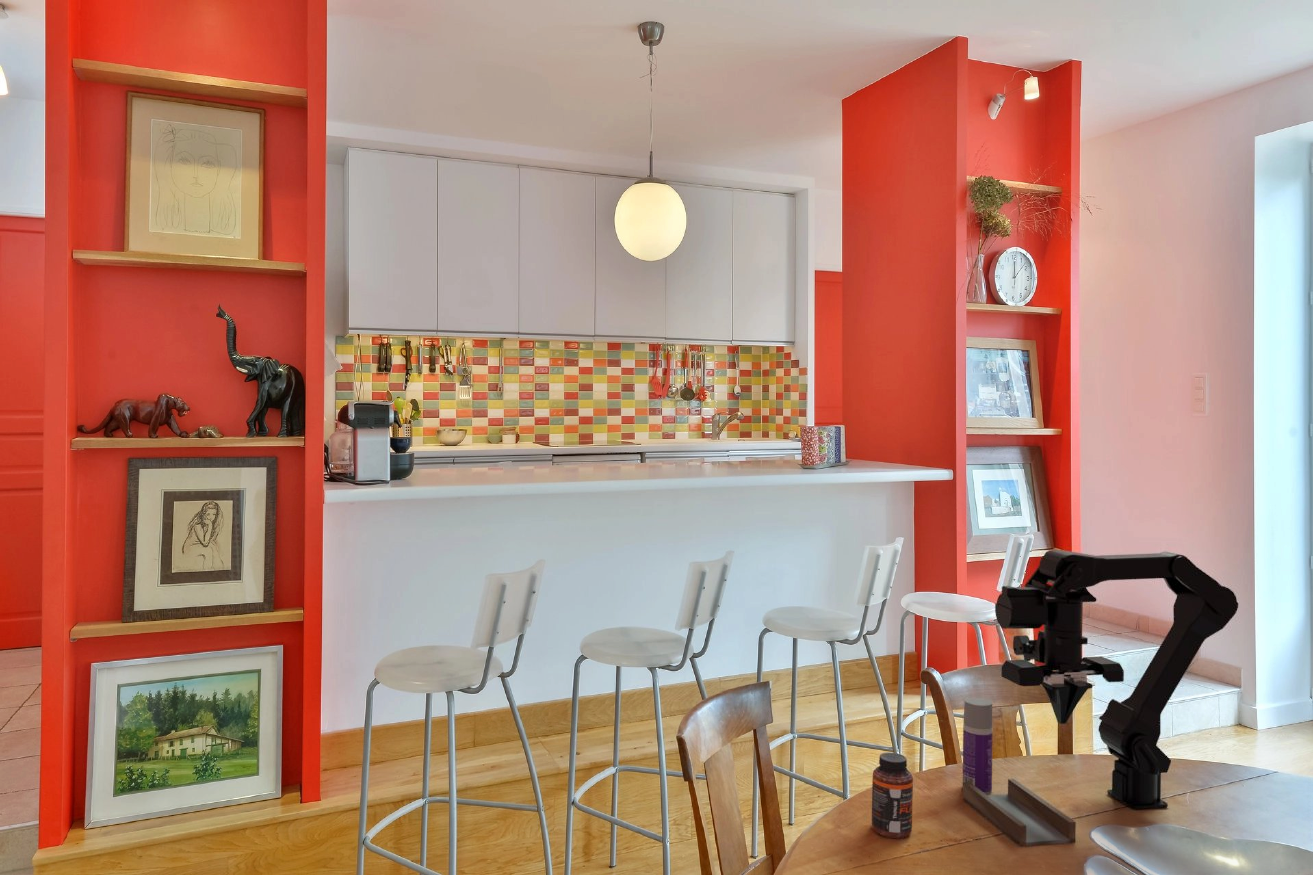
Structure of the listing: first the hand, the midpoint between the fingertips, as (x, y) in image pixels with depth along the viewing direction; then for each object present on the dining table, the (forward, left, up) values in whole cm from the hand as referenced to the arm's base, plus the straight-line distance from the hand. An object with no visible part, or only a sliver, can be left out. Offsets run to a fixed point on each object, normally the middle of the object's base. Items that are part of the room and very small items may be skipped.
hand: (1061, 723), depth 142 cm
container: (+11, -7, -13) cm, 18 cm away
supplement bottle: (+32, +5, -13) cm, 35 cm away
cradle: (+11, +5, -13) cm, 18 cm away
